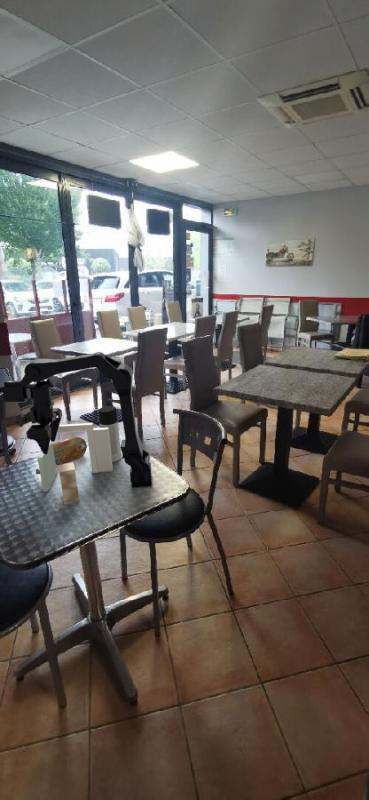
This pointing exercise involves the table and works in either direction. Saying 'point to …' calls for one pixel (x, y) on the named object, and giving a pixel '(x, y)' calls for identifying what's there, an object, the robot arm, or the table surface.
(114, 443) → the spray can
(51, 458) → the door
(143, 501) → the table surface
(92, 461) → the wall frame
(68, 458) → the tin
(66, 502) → the block
